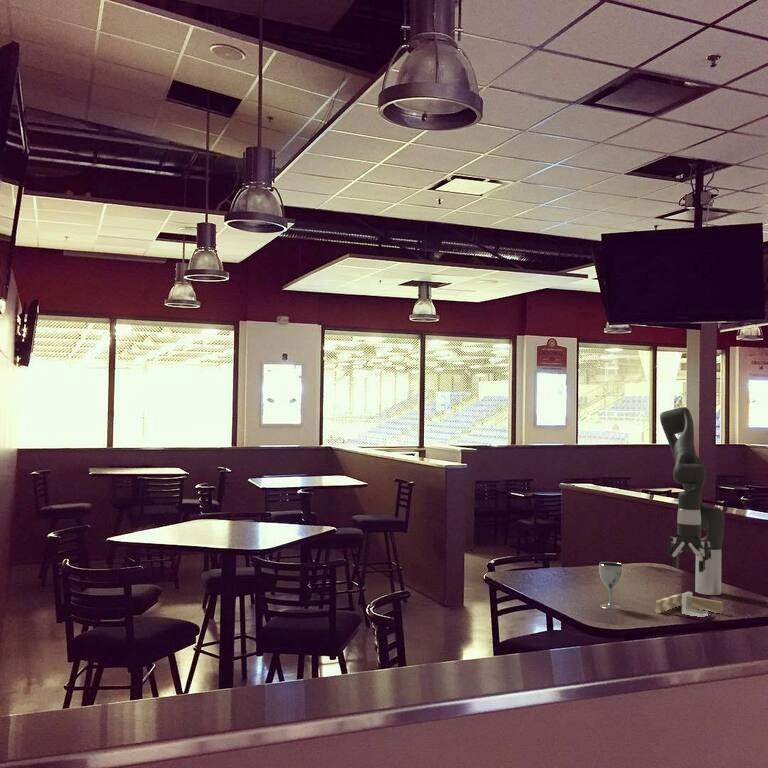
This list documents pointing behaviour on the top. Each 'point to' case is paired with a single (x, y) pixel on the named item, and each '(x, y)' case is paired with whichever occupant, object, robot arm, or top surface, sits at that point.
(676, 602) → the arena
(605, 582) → the wine glass
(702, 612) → the bracket
